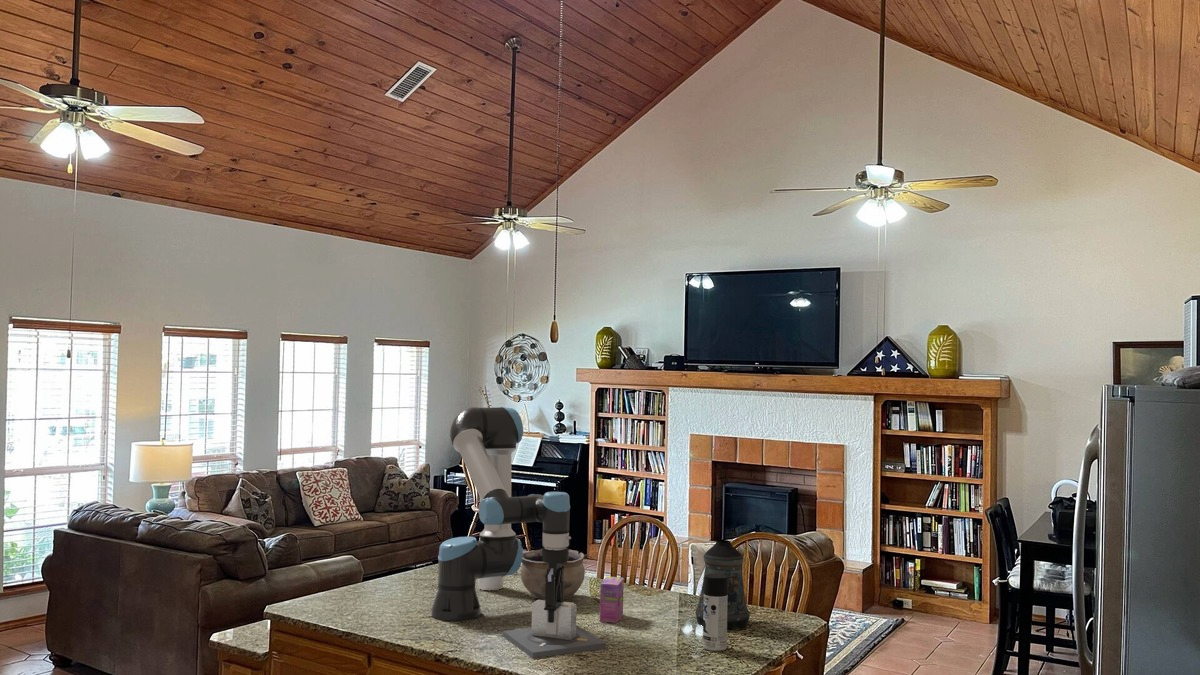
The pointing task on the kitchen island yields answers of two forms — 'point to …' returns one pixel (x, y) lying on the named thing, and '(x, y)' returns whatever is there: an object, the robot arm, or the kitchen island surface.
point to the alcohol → (490, 583)
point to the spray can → (715, 612)
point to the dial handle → (564, 620)
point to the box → (611, 599)
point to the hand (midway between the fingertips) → (553, 630)
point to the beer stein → (728, 563)
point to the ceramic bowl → (537, 569)
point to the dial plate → (552, 643)
